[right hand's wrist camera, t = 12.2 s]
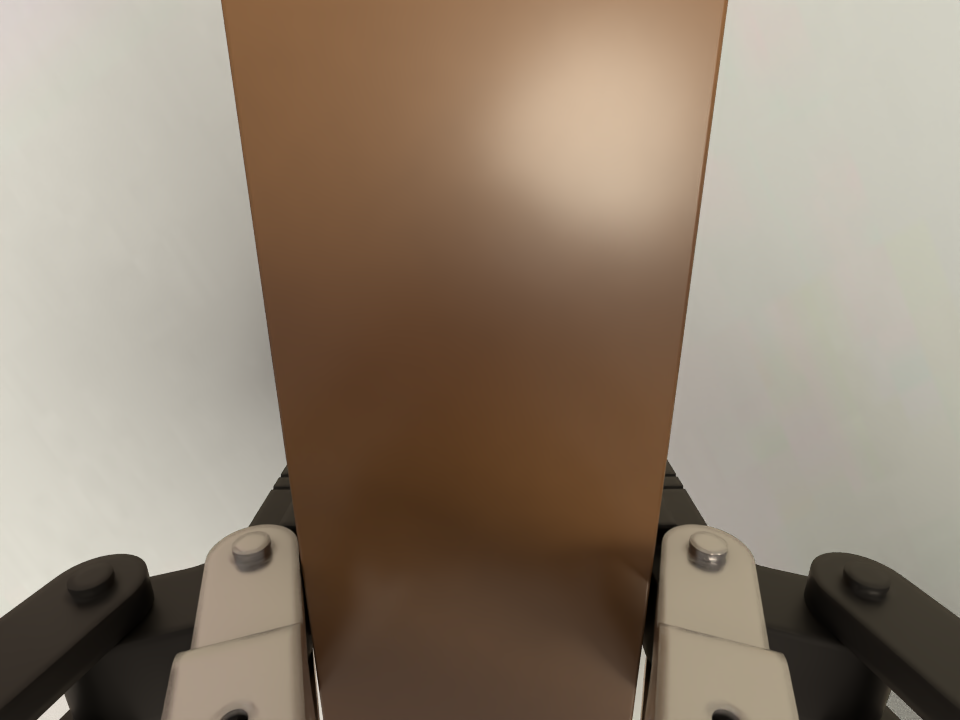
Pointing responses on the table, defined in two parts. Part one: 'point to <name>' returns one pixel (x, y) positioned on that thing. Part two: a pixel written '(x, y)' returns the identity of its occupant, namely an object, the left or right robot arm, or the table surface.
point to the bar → (476, 330)
